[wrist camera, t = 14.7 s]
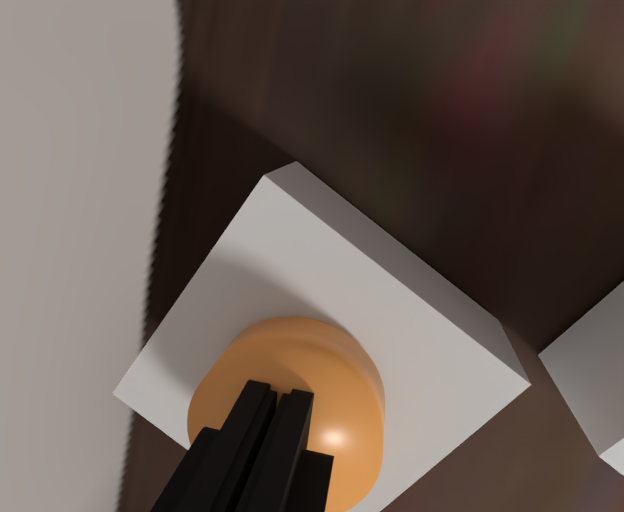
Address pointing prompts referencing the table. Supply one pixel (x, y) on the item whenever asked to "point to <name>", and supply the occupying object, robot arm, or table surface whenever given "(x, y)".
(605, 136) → the table surface
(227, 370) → the button
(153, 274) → the table surface
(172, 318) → the button box
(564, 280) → the table surface
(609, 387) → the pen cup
